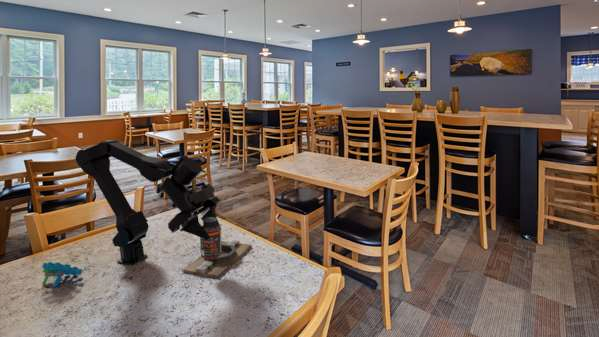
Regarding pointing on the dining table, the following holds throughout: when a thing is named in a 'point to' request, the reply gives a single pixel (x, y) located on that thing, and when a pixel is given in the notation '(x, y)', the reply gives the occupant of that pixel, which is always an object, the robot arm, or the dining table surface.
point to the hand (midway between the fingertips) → (214, 234)
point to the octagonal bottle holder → (218, 260)
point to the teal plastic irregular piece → (58, 271)
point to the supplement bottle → (211, 239)
